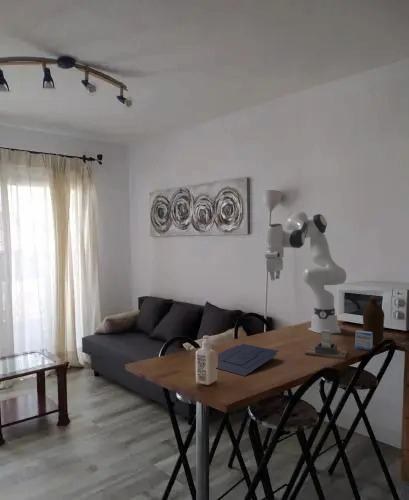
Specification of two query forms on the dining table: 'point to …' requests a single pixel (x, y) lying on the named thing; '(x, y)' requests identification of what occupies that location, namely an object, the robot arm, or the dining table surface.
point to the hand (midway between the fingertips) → (275, 279)
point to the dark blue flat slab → (244, 358)
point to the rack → (326, 351)
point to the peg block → (326, 338)
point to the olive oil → (374, 320)
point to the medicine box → (363, 340)
